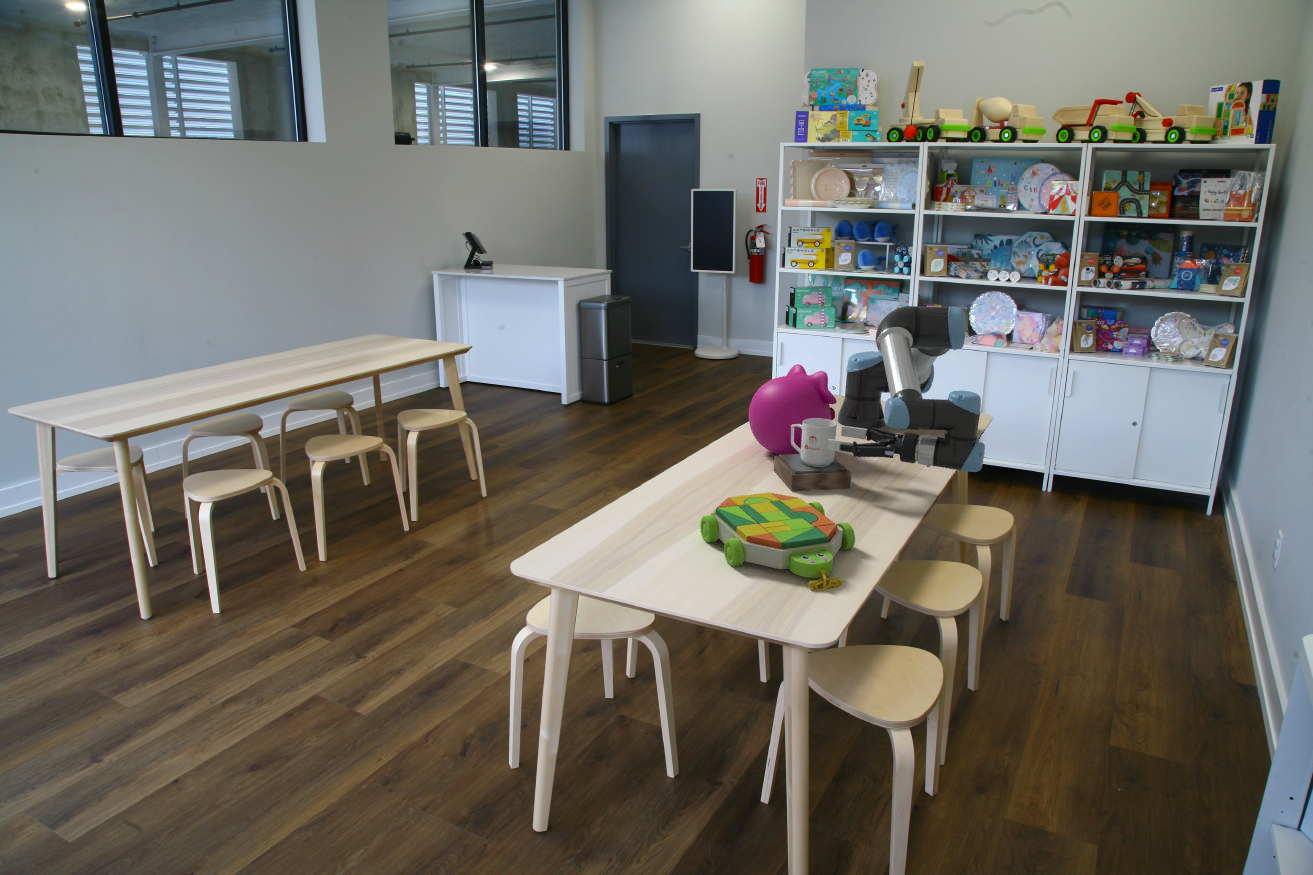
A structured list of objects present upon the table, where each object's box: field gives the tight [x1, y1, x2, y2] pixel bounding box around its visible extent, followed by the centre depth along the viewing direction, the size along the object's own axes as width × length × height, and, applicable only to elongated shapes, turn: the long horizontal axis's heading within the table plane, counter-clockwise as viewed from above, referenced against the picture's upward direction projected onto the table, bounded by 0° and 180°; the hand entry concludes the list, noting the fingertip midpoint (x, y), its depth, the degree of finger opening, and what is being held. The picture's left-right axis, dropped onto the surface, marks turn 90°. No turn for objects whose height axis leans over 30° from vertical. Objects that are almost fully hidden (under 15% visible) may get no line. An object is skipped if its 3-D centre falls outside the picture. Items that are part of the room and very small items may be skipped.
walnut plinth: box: [773, 454, 852, 492], centre depth 229 cm, size 16×16×5 cm
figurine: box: [748, 363, 838, 455], centre depth 247 cm, size 23×24×25 cm
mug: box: [791, 418, 837, 467], centre depth 226 cm, size 12×9×11 cm
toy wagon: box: [699, 492, 856, 592], centre depth 184 cm, size 29×38×8 cm
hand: (834, 437), depth 223 cm, fingers open, 13 cm apart
